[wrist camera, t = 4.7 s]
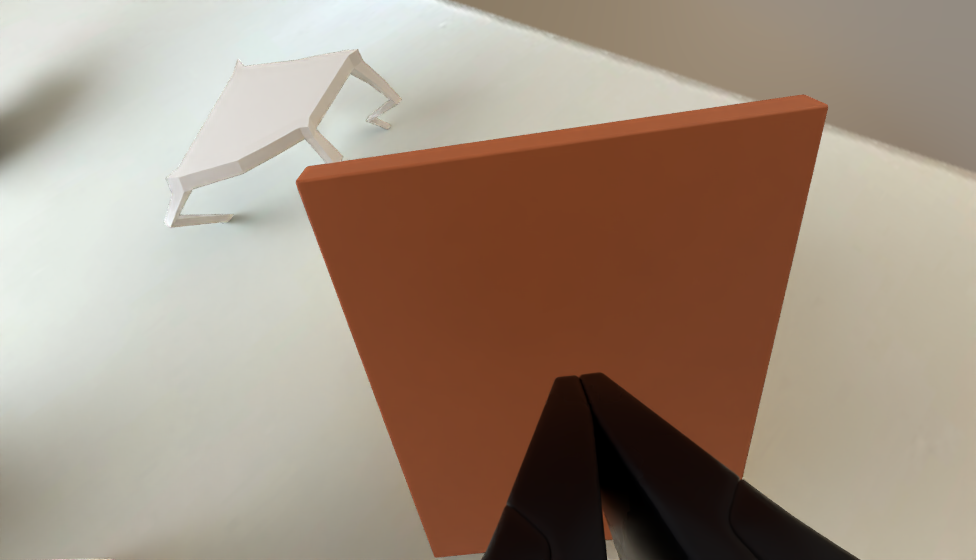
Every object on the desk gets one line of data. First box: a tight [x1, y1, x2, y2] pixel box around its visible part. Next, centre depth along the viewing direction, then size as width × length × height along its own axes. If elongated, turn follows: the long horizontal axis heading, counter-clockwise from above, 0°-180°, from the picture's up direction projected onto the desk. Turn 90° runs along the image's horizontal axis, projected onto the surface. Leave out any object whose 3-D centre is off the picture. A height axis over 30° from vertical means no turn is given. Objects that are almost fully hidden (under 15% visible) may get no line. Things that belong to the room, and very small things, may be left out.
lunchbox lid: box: [296, 95, 828, 558], centre depth 11 cm, size 12×8×1 cm
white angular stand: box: [164, 49, 402, 228], centre depth 25 cm, size 12×8×5 cm
